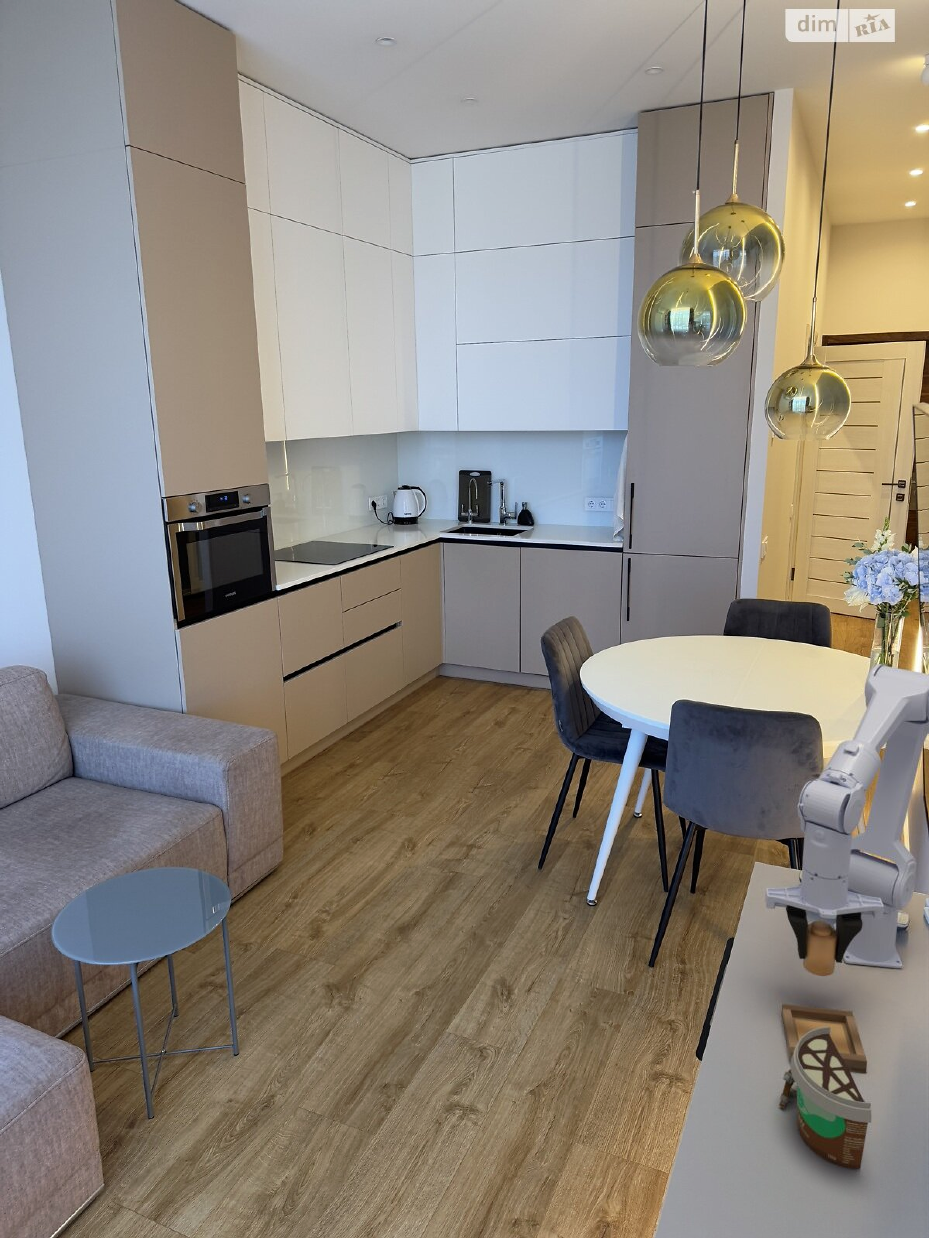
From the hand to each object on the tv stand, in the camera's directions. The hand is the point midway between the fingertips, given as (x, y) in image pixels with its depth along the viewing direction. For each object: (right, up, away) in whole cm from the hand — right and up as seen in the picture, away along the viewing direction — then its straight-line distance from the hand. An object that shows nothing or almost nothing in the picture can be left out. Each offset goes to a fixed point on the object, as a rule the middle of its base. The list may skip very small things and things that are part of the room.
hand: (819, 956), depth 116 cm
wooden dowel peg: (0, -2, 0) cm, 2 cm away
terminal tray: (-1, -10, -4) cm, 11 cm away
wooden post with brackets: (-7, -13, -11) cm, 18 cm away
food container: (-8, -14, -17) cm, 23 cm away
